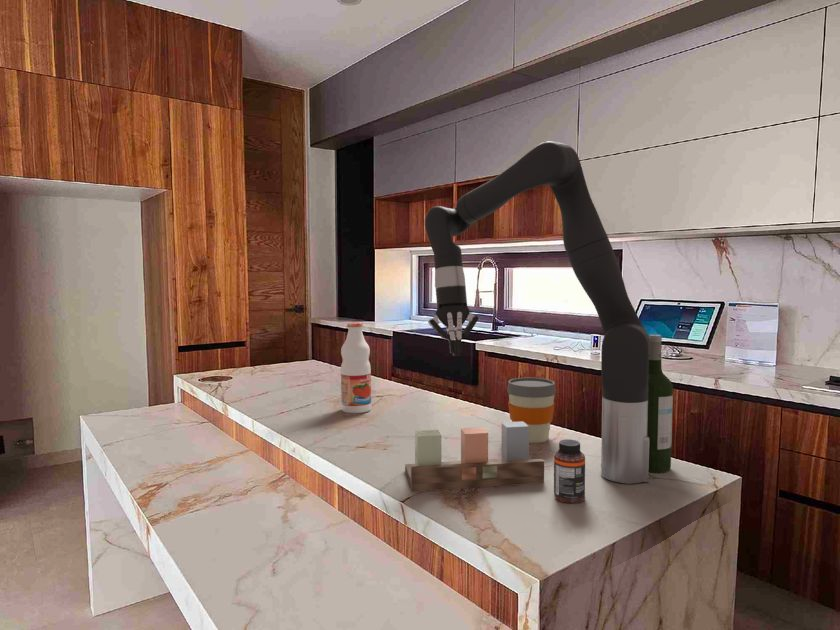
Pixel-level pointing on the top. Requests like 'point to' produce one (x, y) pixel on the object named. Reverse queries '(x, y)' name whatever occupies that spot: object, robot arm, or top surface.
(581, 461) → the supplement bottle
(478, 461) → the terracotta key
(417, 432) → the sage key
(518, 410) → the reusable coffee cup
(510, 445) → the slate key
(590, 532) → the top surface
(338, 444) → the top surface
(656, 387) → the wine bottle
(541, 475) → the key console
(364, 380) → the fruit juice
